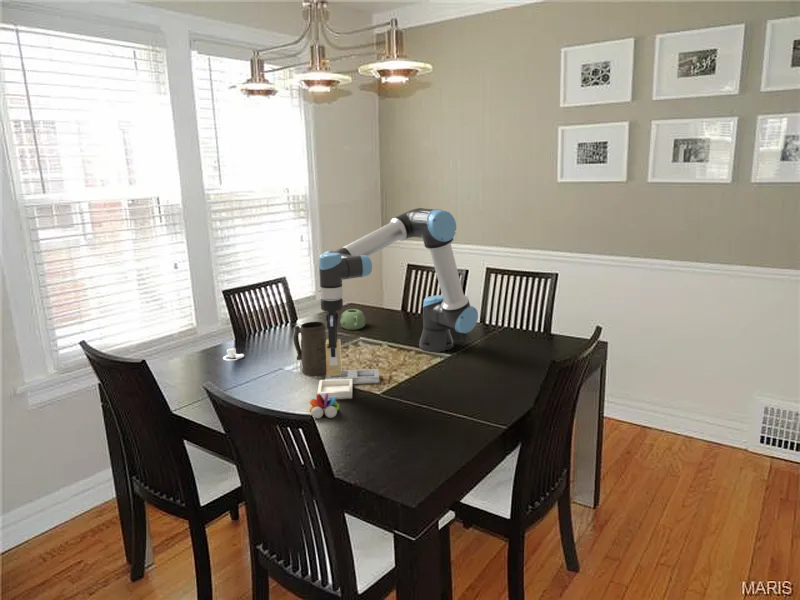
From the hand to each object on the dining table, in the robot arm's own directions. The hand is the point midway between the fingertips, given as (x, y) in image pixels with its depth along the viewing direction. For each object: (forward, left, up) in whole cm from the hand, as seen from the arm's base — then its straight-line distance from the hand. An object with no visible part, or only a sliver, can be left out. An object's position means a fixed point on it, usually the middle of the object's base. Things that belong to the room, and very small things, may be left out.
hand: (334, 362), depth 191 cm
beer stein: (+11, -23, -12) cm, 28 cm away
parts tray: (0, 0, -12) cm, 12 cm away
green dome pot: (-6, -79, -12) cm, 80 cm away
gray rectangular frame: (-6, -11, -12) cm, 17 cm away
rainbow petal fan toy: (+3, +17, -12) cm, 21 cm away
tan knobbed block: (0, 0, -4) cm, 4 cm away
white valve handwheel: (+45, -39, -12) cm, 60 cm away
